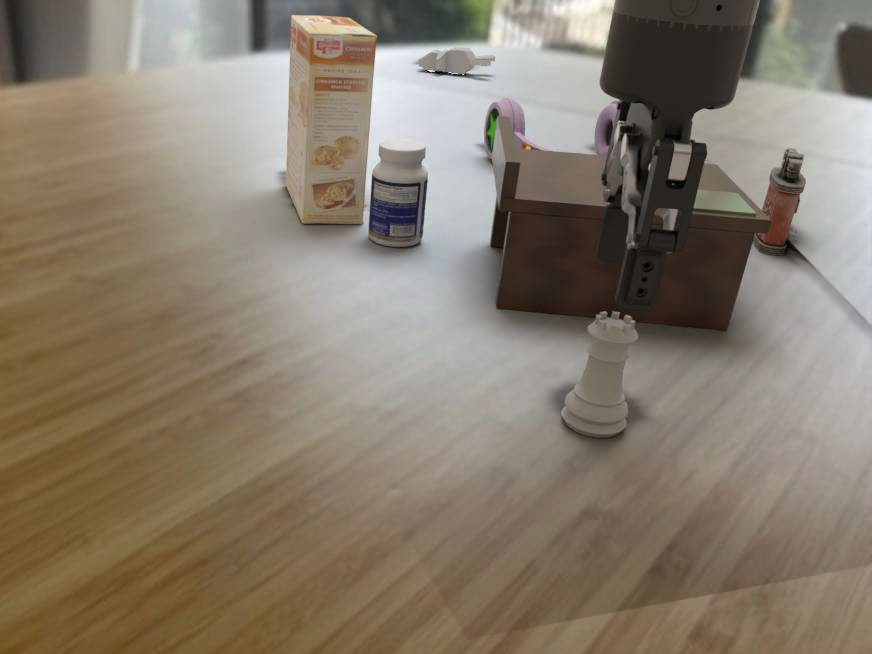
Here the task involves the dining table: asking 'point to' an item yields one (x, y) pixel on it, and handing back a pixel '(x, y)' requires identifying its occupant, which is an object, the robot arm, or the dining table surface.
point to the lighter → (781, 203)
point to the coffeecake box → (329, 117)
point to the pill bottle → (398, 194)
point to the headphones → (517, 119)
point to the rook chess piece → (602, 379)
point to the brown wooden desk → (579, 232)
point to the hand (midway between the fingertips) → (621, 282)
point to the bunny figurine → (454, 60)
